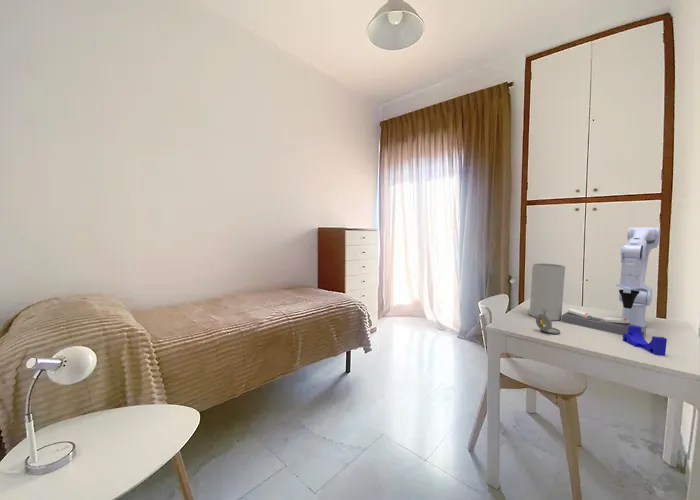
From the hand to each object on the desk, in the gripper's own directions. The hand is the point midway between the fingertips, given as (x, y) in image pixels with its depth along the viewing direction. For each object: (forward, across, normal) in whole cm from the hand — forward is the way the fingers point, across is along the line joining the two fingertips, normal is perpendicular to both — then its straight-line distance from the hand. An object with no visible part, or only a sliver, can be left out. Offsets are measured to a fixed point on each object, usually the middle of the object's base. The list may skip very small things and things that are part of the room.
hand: (627, 308), depth 114 cm
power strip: (+10, 0, -8) cm, 13 cm away
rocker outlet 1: (+6, 0, -16) cm, 17 cm away
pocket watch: (+11, +24, -20) cm, 33 cm away
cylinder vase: (+11, +2, -28) cm, 30 cm away
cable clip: (+11, +15, +6) cm, 19 cm away
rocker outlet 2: (+6, 0, -3) cm, 7 cm away
